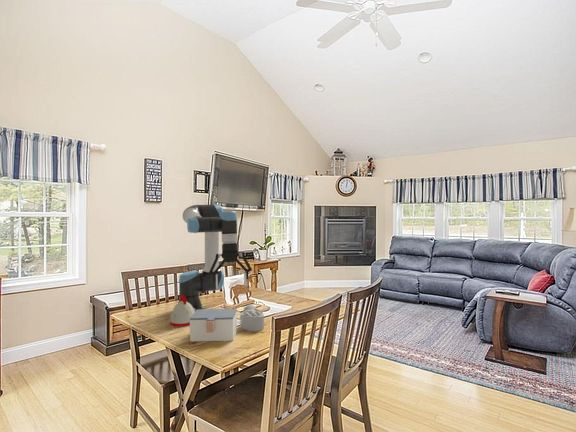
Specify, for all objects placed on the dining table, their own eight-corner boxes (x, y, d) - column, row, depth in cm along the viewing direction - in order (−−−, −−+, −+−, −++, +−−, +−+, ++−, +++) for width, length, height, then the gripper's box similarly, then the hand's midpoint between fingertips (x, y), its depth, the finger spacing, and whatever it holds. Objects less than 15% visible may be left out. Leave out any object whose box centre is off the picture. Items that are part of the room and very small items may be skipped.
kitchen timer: (175, 328, 179) (175, 299, 179) (166, 322, 190) (165, 295, 190) (200, 322, 188) (200, 295, 188) (190, 317, 199) (189, 291, 198)
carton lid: (197, 320, 175) (197, 309, 175) (236, 319, 176) (236, 308, 175) (187, 332, 157) (187, 320, 157) (231, 332, 158) (231, 320, 157)
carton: (197, 330, 175) (197, 311, 175) (237, 330, 176) (236, 310, 175) (190, 341, 161) (189, 320, 161) (233, 340, 162) (232, 319, 161)
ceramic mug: (249, 323, 186) (249, 309, 186) (242, 319, 194) (243, 305, 193) (266, 320, 192) (266, 306, 192) (260, 316, 199) (260, 303, 199)
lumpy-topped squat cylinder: (254, 322, 188) (254, 306, 188) (268, 328, 178) (268, 311, 178) (238, 326, 181) (237, 310, 181) (252, 333, 171) (252, 315, 171)
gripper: (203, 244, 161) (204, 290, 159) (256, 241, 167) (258, 286, 166) (203, 244, 168) (204, 288, 167) (254, 241, 174) (255, 284, 173)
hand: (231, 287), depth 166 cm, fingers open, 13 cm apart
